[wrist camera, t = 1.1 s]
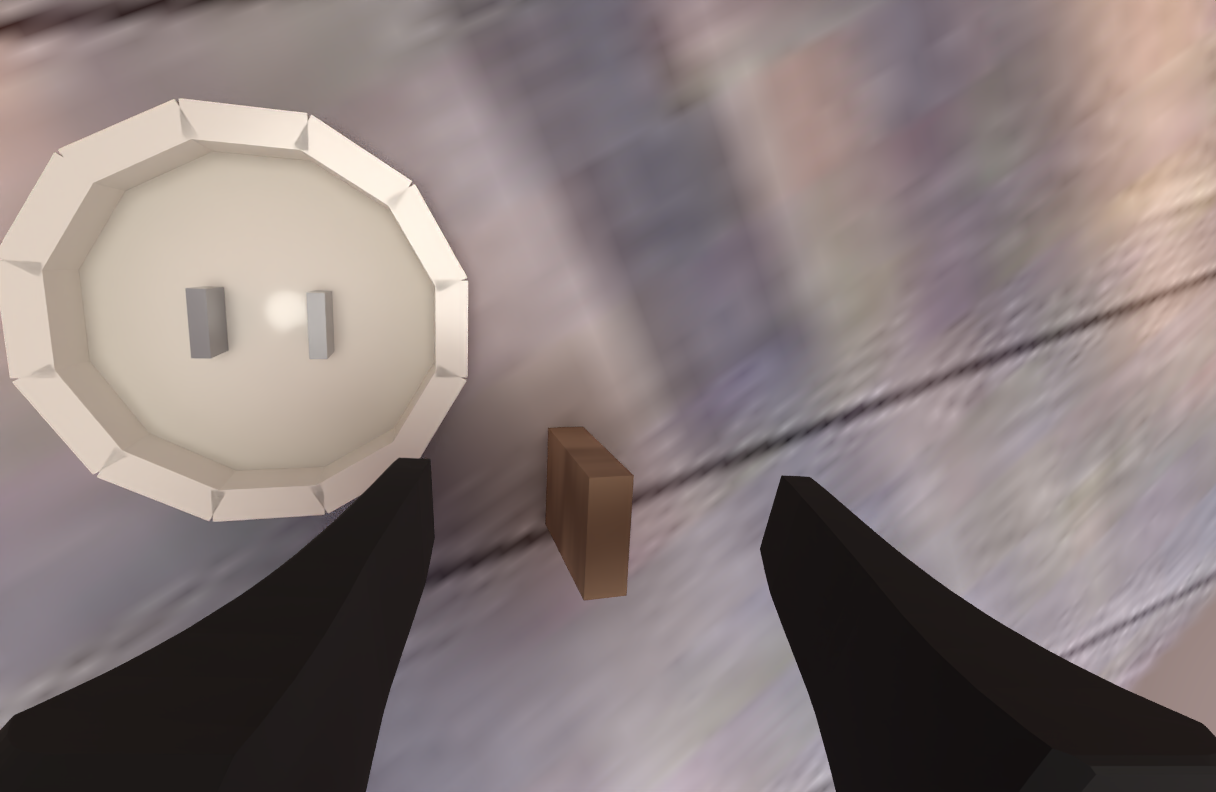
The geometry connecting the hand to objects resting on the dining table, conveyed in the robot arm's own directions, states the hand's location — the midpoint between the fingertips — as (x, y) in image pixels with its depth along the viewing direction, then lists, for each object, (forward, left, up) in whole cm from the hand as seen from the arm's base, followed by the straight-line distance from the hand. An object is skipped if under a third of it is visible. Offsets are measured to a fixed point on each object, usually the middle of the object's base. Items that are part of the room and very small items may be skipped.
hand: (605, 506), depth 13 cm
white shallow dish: (+3, +8, -11) cm, 14 cm away
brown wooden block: (-3, -2, -11) cm, 12 cm away
